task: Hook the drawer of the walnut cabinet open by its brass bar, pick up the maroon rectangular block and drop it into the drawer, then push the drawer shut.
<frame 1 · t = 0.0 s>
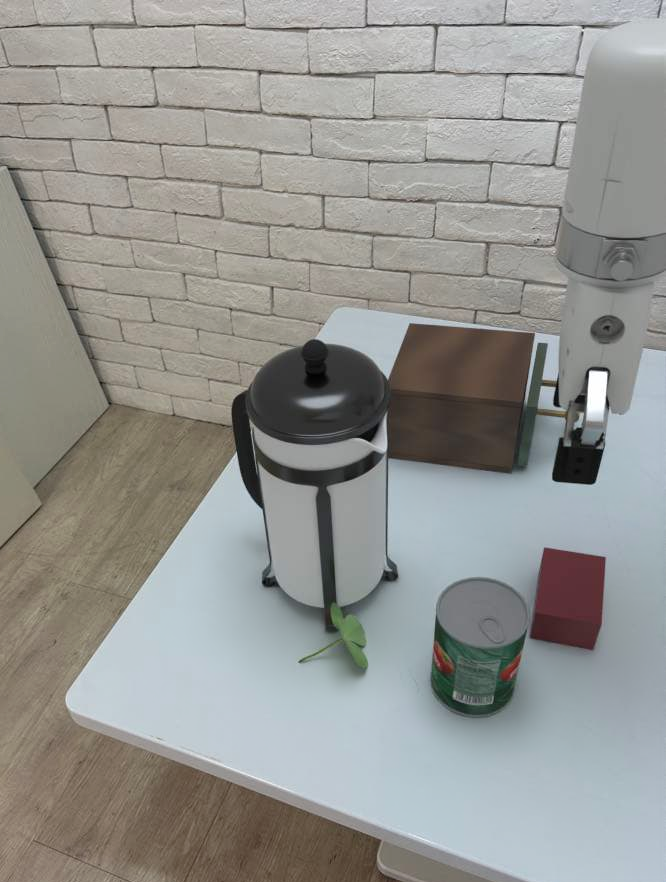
hand: (572, 441, 65), 23 cm above the table, tool pointing down, fingers open, 9 cm apart
canned tomato: (471, 683, 77), on the table
seedling: (338, 649, 82), on the table
coffee press: (318, 577, 89), on the table
drawer: (496, 399, 99), point 5 cm above the table, slide at 0.5 cm
cabinet: (455, 429, 104), on the table
maroon rectangular block: (564, 609, 82), on the table
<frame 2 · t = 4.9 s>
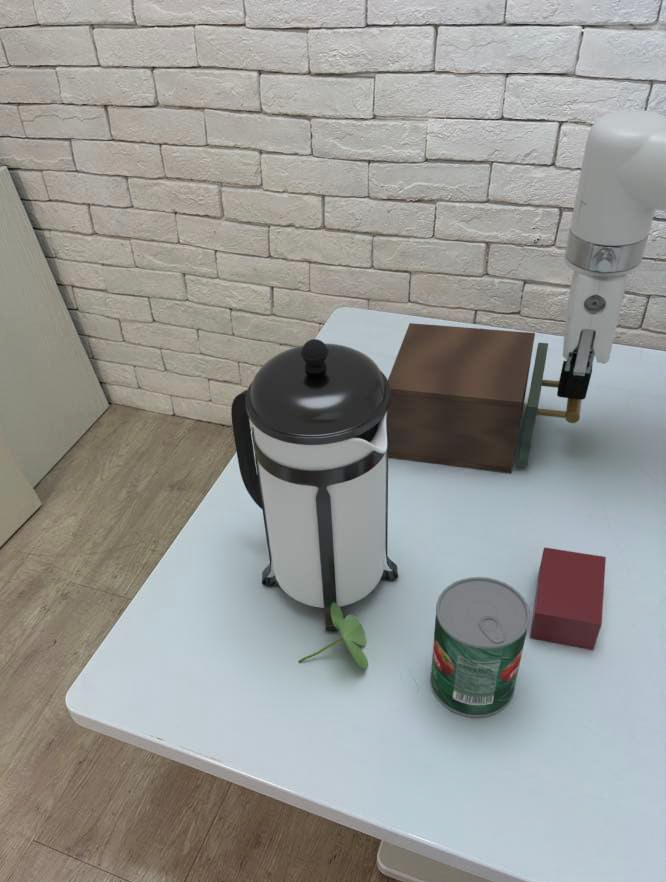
hand: (571, 394, 95), 7 cm above the table, tool pointing down, fingers closed
drawer: (497, 399, 99), point 5 cm above the table, slide at 0.6 cm, touching gripper
everything else where it was.
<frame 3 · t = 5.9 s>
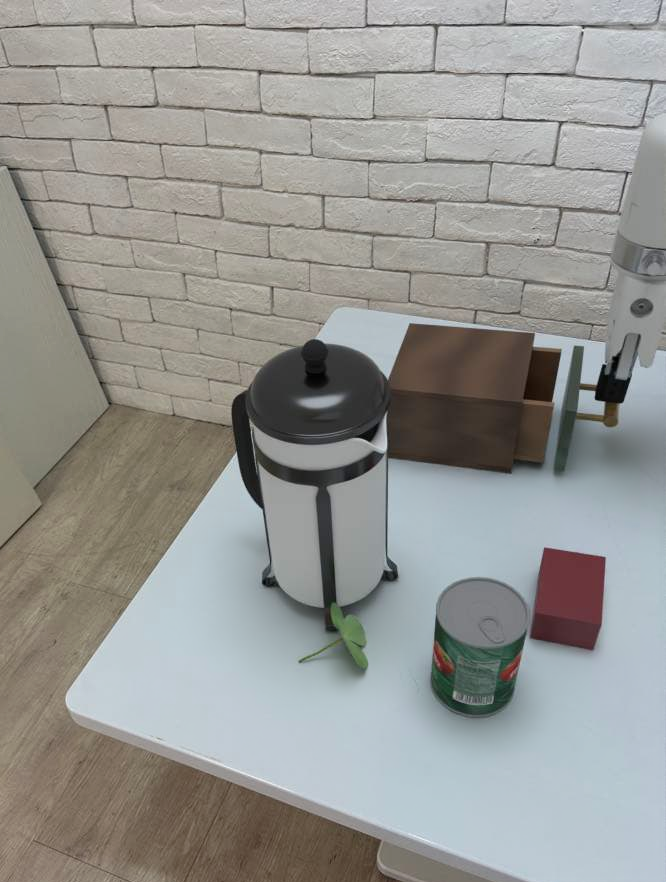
hand: (608, 397, 94), 7 cm above the table, tool pointing down, fingers closed
drawer: (532, 403, 98), point 5 cm above the table, slide at 4.7 cm, touching gripper
everything else where it was.
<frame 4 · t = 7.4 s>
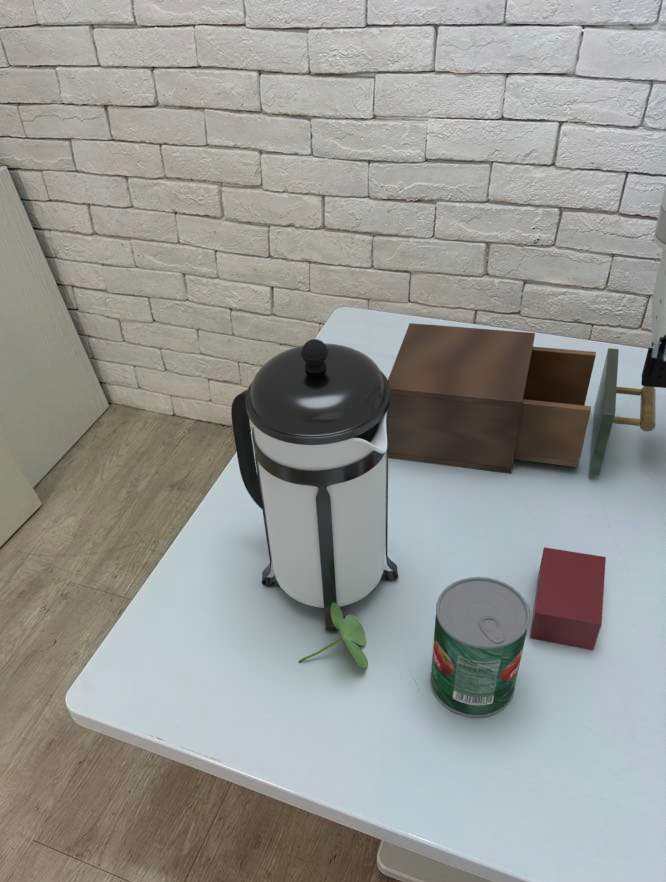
hand: (656, 382, 91), 10 cm above the table, tool pointing down, fingers closed
drawer: (566, 407, 96), point 5 cm above the table, slide at 8.6 cm
everything else where it was.
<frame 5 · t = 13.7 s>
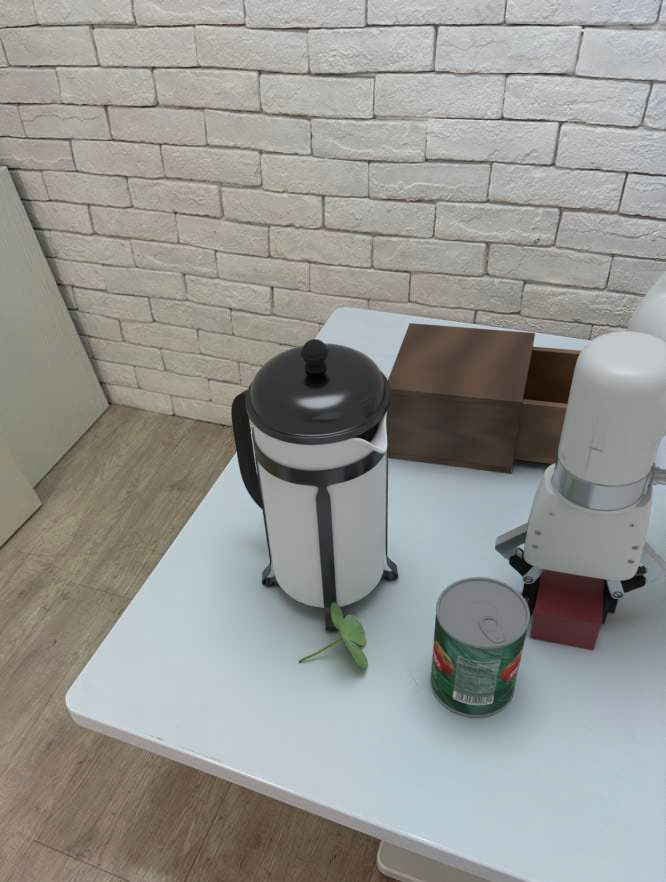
hand: (565, 606, 81), 1 cm above the table, tool pointing down, fingers closed on maroon rectangular block, 6 cm apart
maroon rectangular block: (564, 609, 82), on the table, touching gripper
everything else where it was.
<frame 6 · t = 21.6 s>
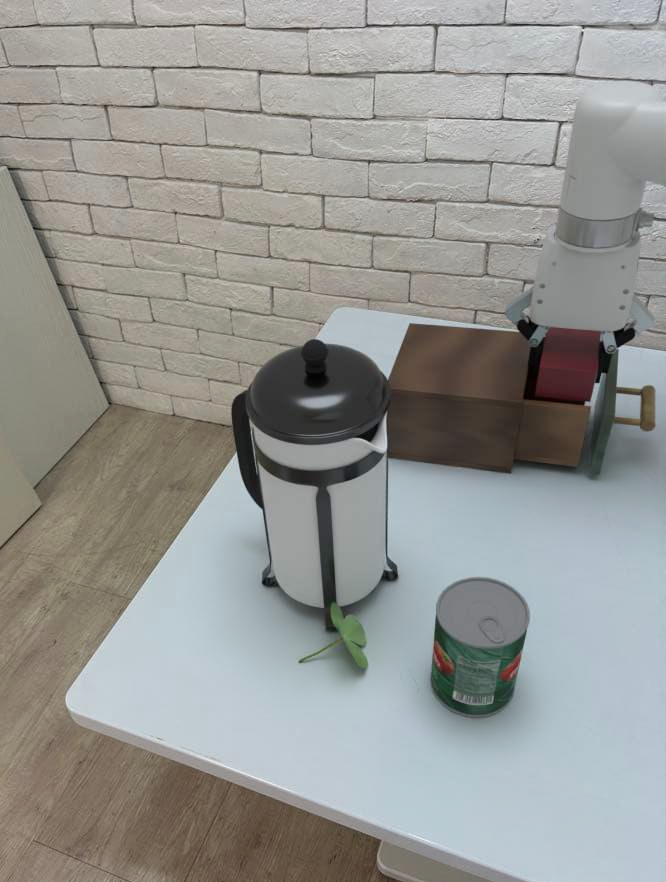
hand: (566, 372, 93), 10 cm above the table, tool pointing down, fingers closed on maroon rectangular block, 6 cm apart
maroon rectangular block: (565, 376, 94), point 10 cm above the table, touching gripper
everything else where it was.
when the fingers open (10 cm above the table, at t = 25.1 s): maroon rectangular block drops 8 cm, resting on drawer.
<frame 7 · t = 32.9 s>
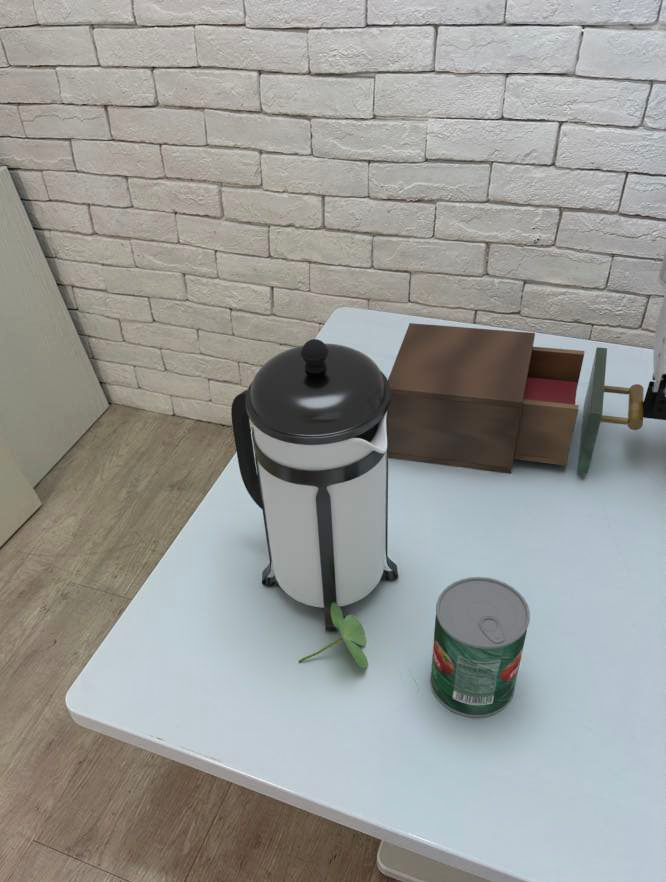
hand: (656, 414, 93), 5 cm above the table, tool pointing down, fingers closed
drawer: (554, 405, 97), point 5 cm above the table, slide at 7.3 cm, touching maroon rectangular block
maroon rectangular block: (543, 427, 99), point 2 cm above the table, touching drawer
everything else where it was.
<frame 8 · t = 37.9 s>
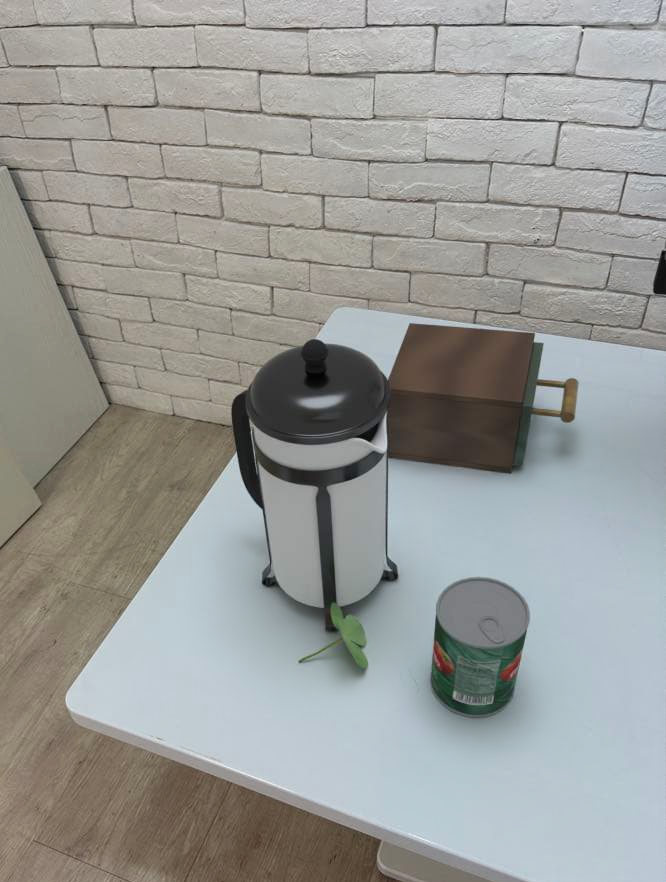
drawer: (492, 399, 99), point 5 cm above the table, slide at 0.0 cm, touching maroon rectangular block
maroon rectangular block: (483, 420, 102), point 2 cm above the table, touching drawer
everything else where it was.
at the end: maroon rectangular block inside the target area in the cabinet (3.3 cm from its centre), point 2.0 cm above the cabinet's base; drawer slide at 0.0 cm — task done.
